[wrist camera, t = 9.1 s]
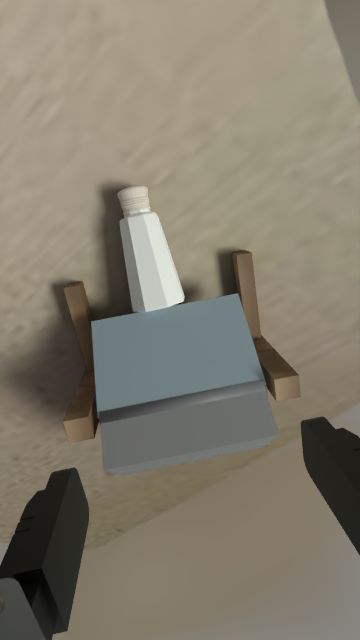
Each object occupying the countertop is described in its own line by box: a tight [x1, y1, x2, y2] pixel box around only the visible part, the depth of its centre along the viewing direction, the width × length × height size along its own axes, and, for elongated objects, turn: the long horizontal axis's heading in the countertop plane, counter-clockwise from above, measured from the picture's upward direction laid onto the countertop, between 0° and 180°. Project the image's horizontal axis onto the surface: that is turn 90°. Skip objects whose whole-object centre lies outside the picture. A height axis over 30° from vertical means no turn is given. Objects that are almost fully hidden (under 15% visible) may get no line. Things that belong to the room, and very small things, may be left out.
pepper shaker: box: [117, 185, 185, 312], centre depth 32 cm, size 5×5×11 cm
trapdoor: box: [91, 293, 279, 476], centre depth 32 cm, size 14×13×7 cm
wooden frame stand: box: [63, 251, 300, 443], centre depth 32 cm, size 19×16×11 cm
